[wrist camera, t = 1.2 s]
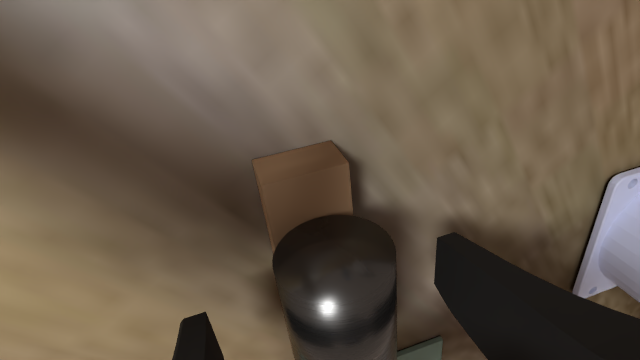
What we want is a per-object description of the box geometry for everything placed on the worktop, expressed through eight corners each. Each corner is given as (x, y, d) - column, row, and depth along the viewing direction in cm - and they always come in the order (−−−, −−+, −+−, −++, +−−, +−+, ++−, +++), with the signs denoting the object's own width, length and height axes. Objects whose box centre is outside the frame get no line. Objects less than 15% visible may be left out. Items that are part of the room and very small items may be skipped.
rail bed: (330, 140, 13) (349, 162, 12) (352, 342, 19) (365, 372, 17) (251, 159, 12) (261, 185, 11) (298, 361, 18) (308, 394, 17)
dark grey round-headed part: (231, 211, 13) (257, 331, 9) (368, 174, 13) (446, 268, 10) (284, 399, 18) (314, 520, 14) (378, 364, 19) (429, 469, 15)
